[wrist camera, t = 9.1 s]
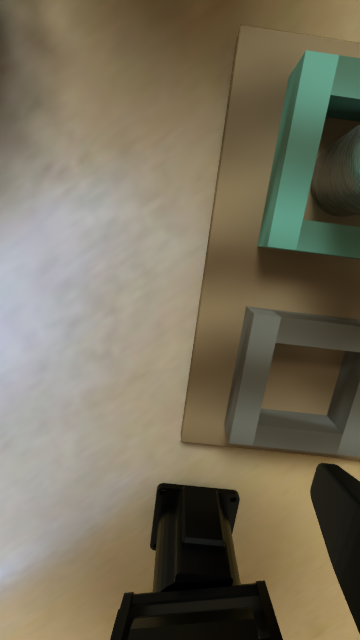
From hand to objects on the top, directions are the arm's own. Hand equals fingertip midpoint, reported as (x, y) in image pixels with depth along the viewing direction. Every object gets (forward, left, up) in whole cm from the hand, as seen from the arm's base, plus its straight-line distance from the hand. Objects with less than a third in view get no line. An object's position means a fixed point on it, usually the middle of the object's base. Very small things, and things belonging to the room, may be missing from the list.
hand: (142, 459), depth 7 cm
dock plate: (+4, -9, -12) cm, 15 cm away
